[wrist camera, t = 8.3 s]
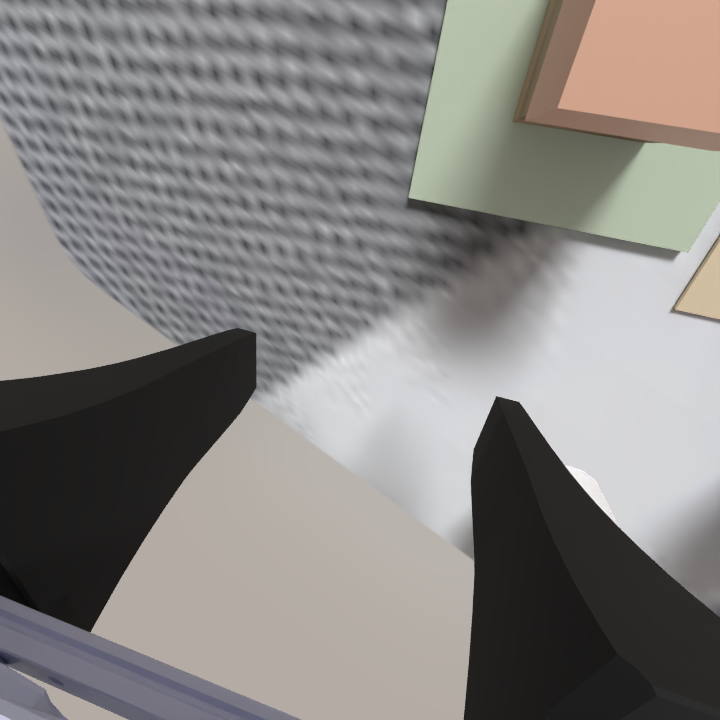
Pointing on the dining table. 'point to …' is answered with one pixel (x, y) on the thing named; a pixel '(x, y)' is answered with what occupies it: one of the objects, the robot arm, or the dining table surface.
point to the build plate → (545, 145)
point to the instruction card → (704, 288)
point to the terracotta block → (634, 71)
